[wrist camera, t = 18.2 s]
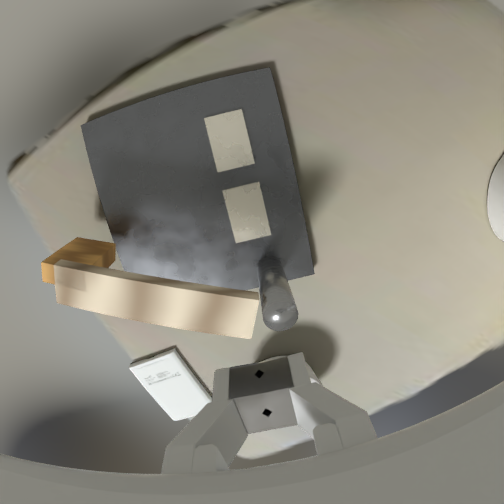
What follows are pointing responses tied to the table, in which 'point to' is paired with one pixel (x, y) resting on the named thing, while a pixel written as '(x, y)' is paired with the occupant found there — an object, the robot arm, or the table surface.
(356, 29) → the table surface
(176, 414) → the external hard drive
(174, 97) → the base plate
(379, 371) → the table surface
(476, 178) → the table surface
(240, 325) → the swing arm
